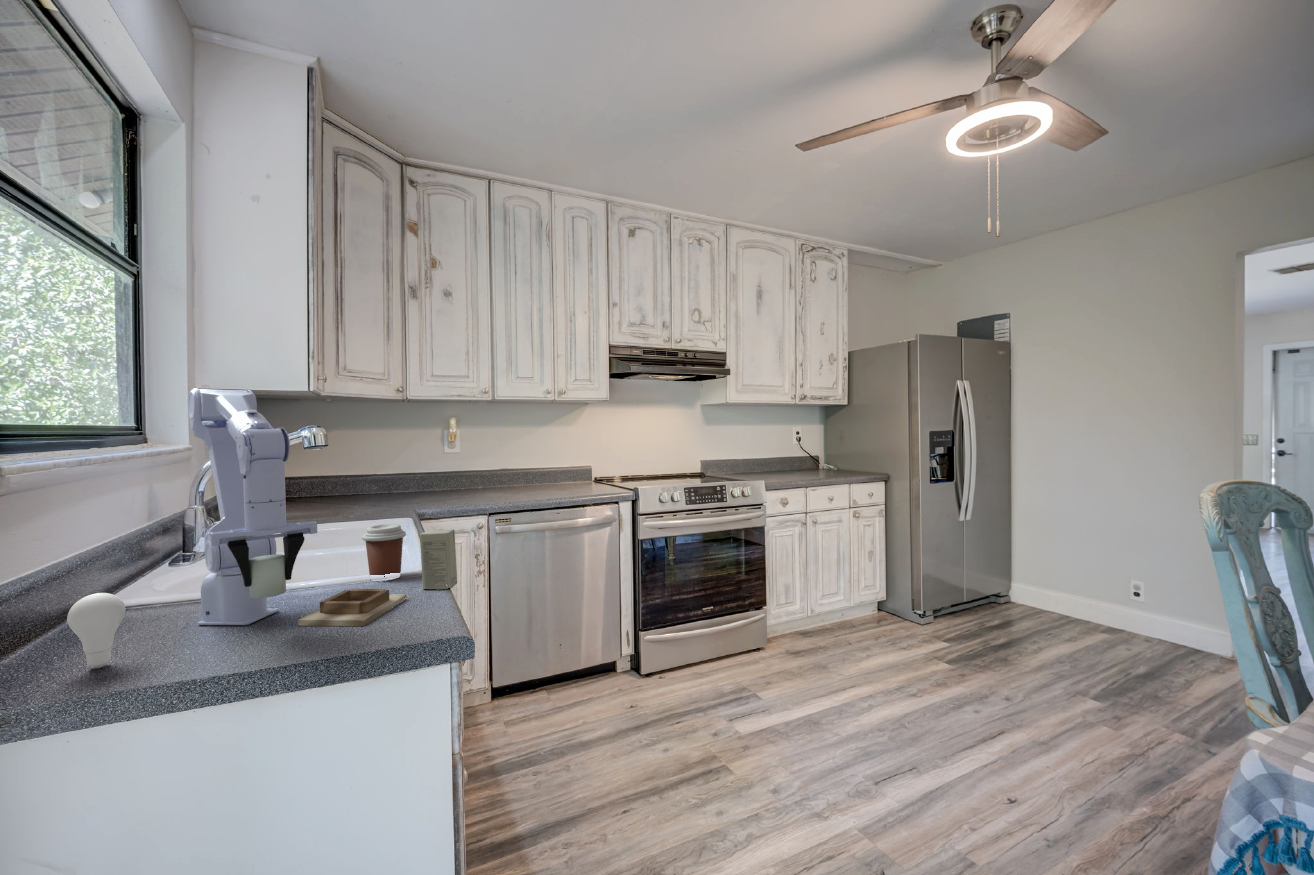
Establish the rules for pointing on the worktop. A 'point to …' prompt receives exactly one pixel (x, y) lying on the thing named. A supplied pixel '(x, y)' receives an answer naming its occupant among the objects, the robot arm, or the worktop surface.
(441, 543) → the skincare box
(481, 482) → the worktop surface
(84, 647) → the lightbulb
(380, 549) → the coffee cup
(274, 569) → the sage cap
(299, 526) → the robot arm
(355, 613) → the socket board
